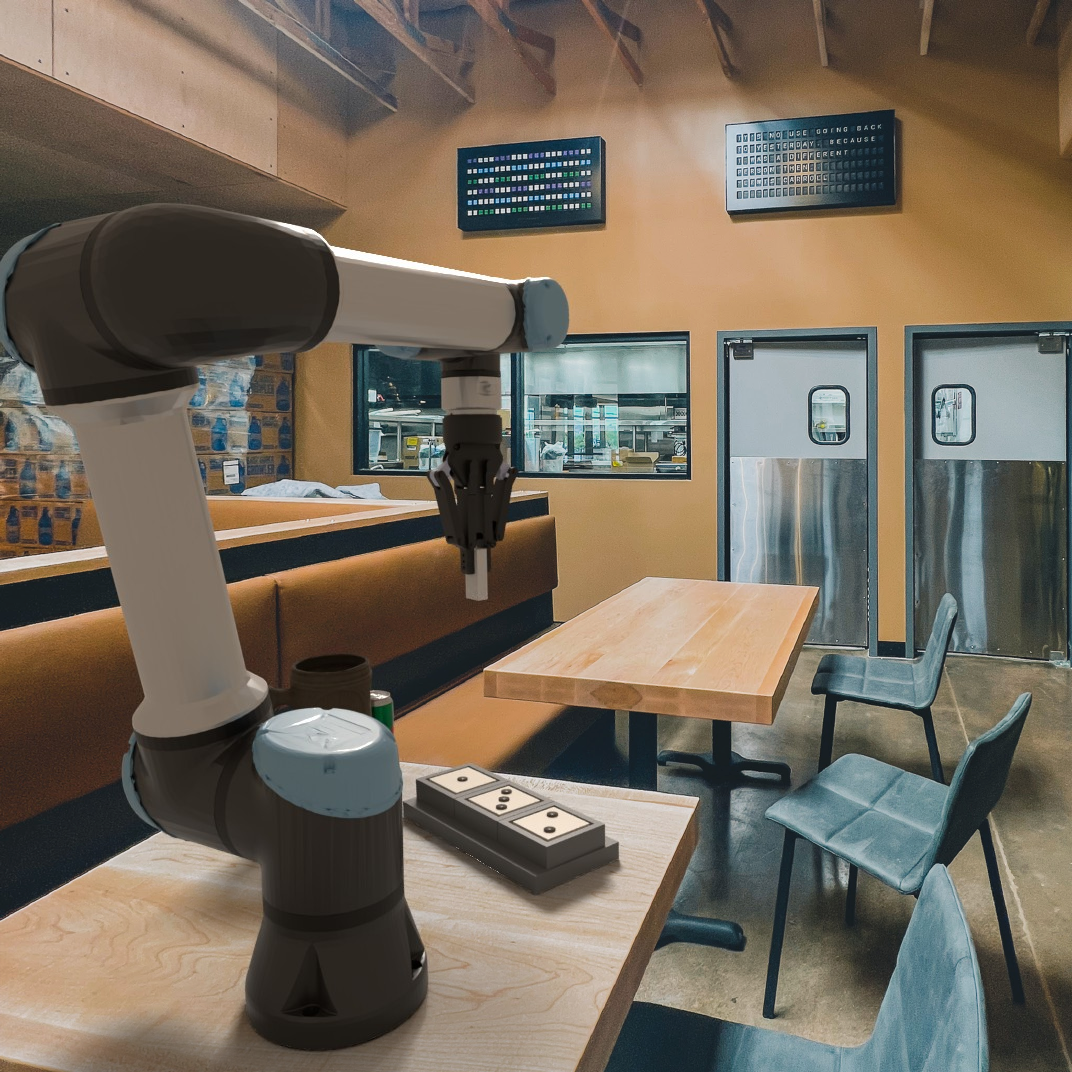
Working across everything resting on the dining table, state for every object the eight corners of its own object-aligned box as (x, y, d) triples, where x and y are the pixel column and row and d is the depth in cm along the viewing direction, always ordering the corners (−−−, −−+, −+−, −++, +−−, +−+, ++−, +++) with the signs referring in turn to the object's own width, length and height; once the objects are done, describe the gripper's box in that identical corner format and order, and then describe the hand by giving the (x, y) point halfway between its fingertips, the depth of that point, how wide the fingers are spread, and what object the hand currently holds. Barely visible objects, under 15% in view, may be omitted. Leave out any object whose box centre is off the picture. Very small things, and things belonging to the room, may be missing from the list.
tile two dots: (548, 862, 95) (547, 838, 95) (513, 843, 100) (512, 820, 99) (589, 845, 99) (589, 822, 98) (554, 827, 103) (553, 805, 103)
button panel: (535, 895, 92) (535, 853, 92) (403, 816, 112) (402, 781, 112) (618, 859, 100) (618, 820, 99) (481, 791, 120) (480, 758, 119)
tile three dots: (499, 835, 101) (499, 813, 101) (468, 819, 106) (468, 797, 106) (540, 820, 105) (539, 799, 105) (508, 805, 110) (508, 784, 110)
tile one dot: (456, 812, 108) (456, 791, 108) (429, 798, 113) (429, 777, 112) (496, 799, 112) (496, 779, 111) (468, 785, 116) (468, 766, 116)
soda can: (379, 769, 128) (376, 687, 127) (403, 777, 125) (400, 693, 124) (351, 780, 125) (348, 695, 123) (375, 788, 121) (372, 702, 120)
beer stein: (354, 787, 122) (339, 645, 119) (402, 809, 114) (387, 657, 111) (249, 830, 111) (230, 675, 108) (294, 857, 104) (274, 691, 101)
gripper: (445, 411, 106) (451, 609, 108) (531, 412, 114) (534, 595, 116) (411, 414, 111) (417, 601, 114) (495, 414, 120) (499, 589, 122)
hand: (476, 598), depth 115 cm, fingers closed
